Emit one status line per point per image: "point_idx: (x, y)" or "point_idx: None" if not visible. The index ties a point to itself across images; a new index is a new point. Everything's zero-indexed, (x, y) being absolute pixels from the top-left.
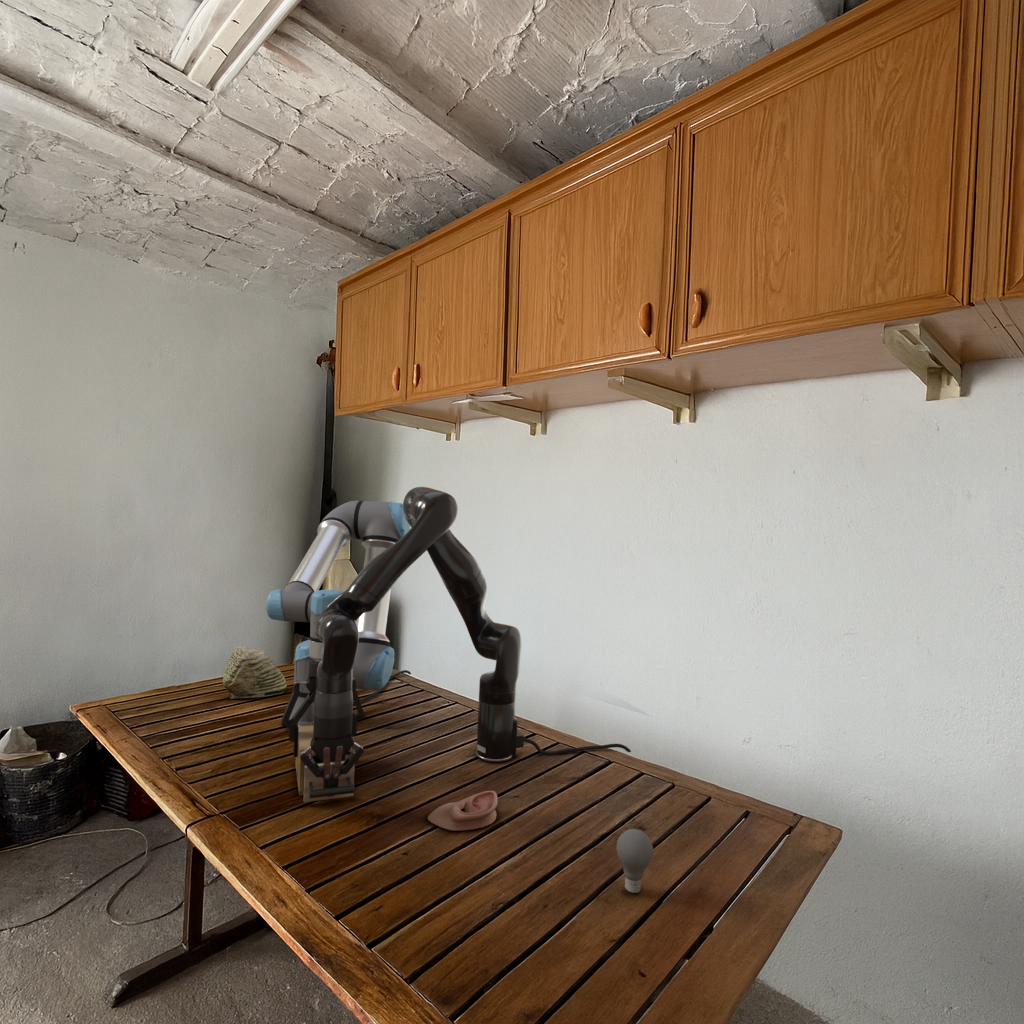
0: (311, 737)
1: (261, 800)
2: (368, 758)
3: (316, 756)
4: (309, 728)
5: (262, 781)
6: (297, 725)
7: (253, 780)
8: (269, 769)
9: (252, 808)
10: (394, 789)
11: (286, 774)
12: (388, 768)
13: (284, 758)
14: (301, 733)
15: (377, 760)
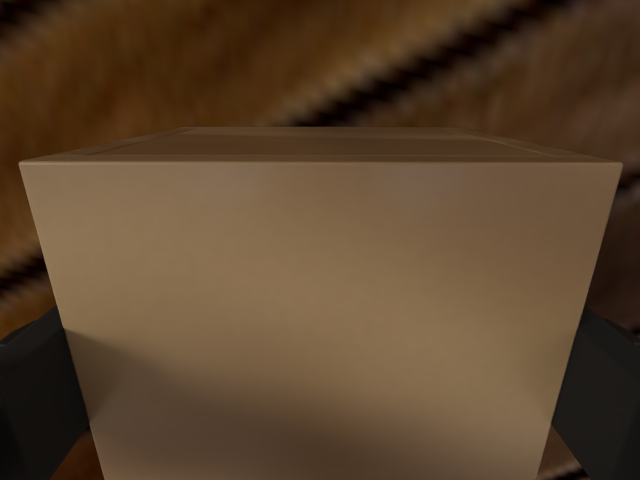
0: (209, 474)
1: (86, 430)
2: (592, 150)
3: None
4: (179, 264)
5: (49, 283)
6: (2, 426)
7: (3, 262)
8: (49, 153)
9: (68, 470)
10: (564, 466)
11: None
12: (631, 298)
13: (106, 2)
14: (109, 376)
15: (626, 191)
